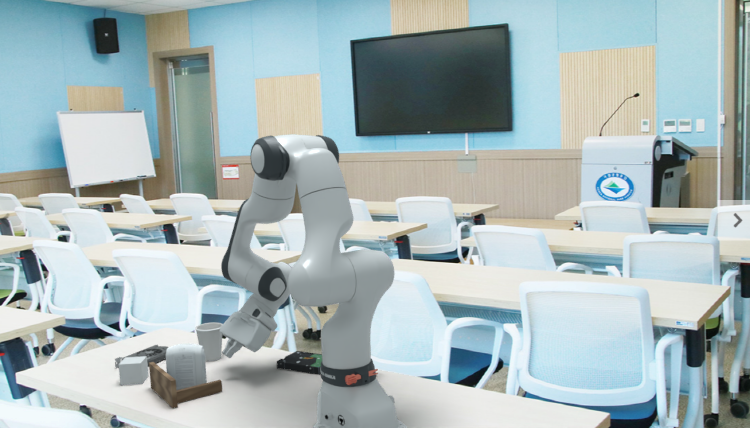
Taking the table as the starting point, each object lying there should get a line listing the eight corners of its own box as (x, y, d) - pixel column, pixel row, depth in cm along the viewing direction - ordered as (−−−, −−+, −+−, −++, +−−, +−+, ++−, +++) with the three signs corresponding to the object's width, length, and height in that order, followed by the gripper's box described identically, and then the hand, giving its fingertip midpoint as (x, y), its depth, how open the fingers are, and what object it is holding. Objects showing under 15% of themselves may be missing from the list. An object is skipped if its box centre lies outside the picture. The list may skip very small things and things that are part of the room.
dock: (225, 394, 172) (223, 368, 172) (173, 408, 164) (170, 381, 164) (200, 375, 187) (198, 351, 186) (150, 388, 179) (148, 362, 178)
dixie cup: (217, 363, 197) (214, 330, 196) (192, 362, 200) (189, 329, 198) (230, 354, 205) (228, 322, 204) (206, 353, 207) (204, 321, 206)
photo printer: (208, 385, 180) (205, 340, 178) (205, 391, 175) (202, 345, 174) (170, 387, 179) (166, 342, 178) (166, 393, 175) (162, 347, 174)
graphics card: (144, 362, 191) (113, 357, 196) (145, 375, 192) (114, 370, 197) (184, 346, 206) (154, 341, 211) (185, 358, 207) (155, 353, 212)
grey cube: (127, 378, 188) (125, 357, 188) (148, 376, 189) (146, 356, 188) (120, 385, 182) (118, 364, 182) (142, 384, 183) (140, 363, 182)
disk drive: (276, 370, 191) (319, 376, 184) (275, 361, 191) (319, 366, 184) (297, 359, 200) (339, 364, 193) (296, 350, 200) (338, 355, 193)
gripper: (233, 301, 194) (203, 341, 189) (264, 314, 177) (232, 358, 173) (248, 313, 197) (219, 353, 192) (280, 327, 180) (249, 371, 176)
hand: (225, 355), depth 182 cm, fingers closed
